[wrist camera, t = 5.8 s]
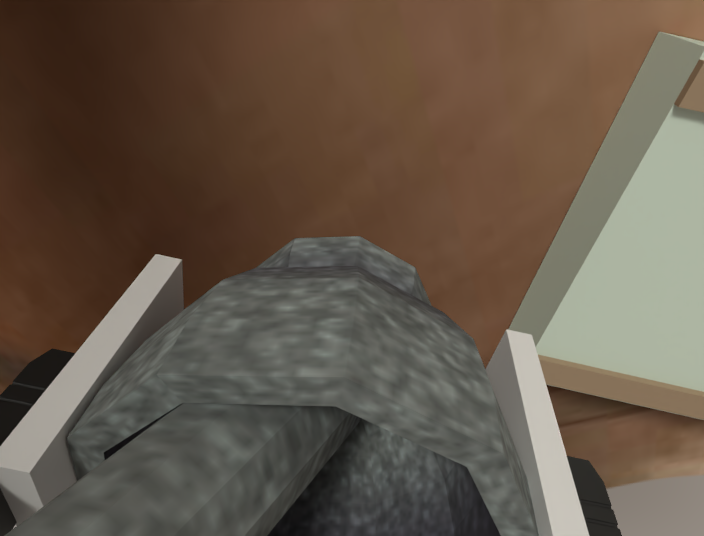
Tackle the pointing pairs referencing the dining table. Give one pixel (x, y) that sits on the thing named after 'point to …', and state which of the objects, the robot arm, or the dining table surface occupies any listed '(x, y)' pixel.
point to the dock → (633, 251)
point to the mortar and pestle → (298, 415)
